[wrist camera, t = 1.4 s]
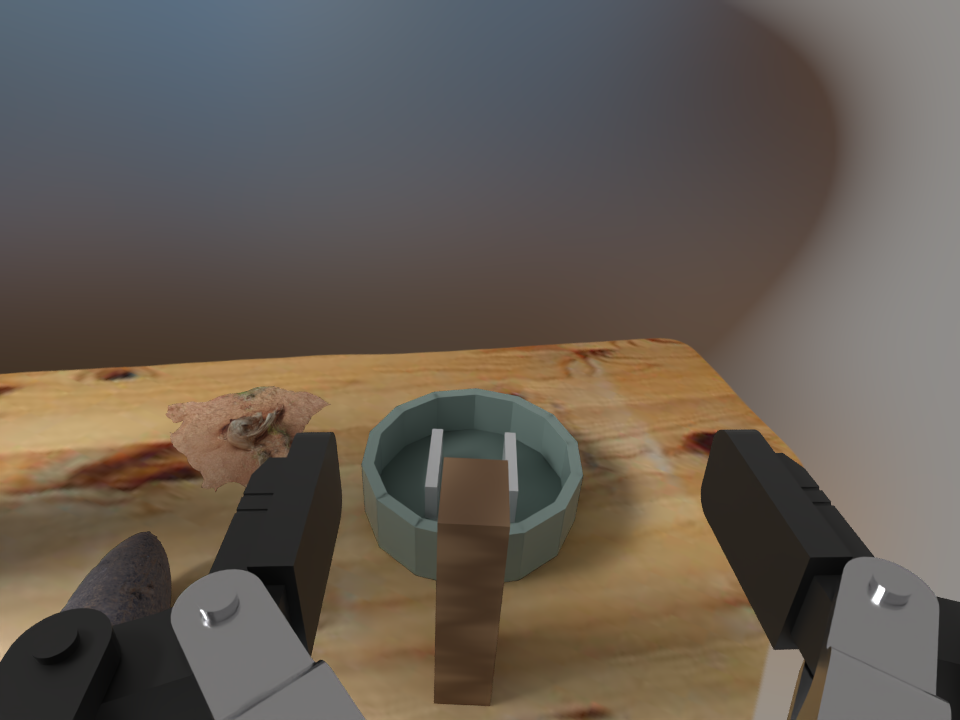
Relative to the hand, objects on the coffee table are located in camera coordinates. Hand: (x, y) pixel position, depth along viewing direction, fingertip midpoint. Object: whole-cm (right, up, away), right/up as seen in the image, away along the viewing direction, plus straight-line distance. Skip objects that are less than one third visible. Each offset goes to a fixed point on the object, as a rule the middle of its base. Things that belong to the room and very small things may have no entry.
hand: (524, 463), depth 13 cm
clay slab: (-21, -5, +37) cm, 43 cm away
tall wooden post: (-2, -15, +22) cm, 26 cm away
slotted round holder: (-2, -8, +33) cm, 34 cm away
